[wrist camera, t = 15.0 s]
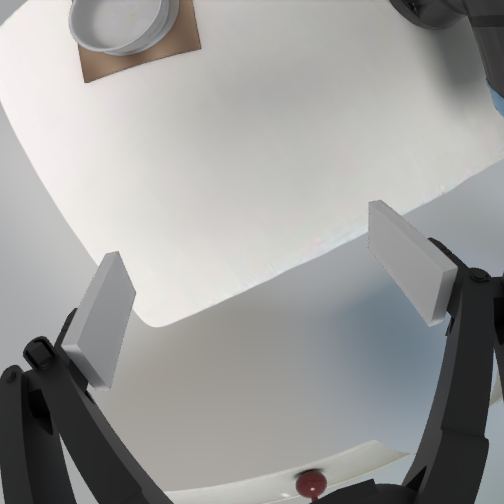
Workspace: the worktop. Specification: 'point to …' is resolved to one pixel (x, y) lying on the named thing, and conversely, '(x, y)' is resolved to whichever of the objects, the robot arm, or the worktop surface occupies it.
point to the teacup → (116, 23)
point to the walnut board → (162, 45)
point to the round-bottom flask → (311, 484)
